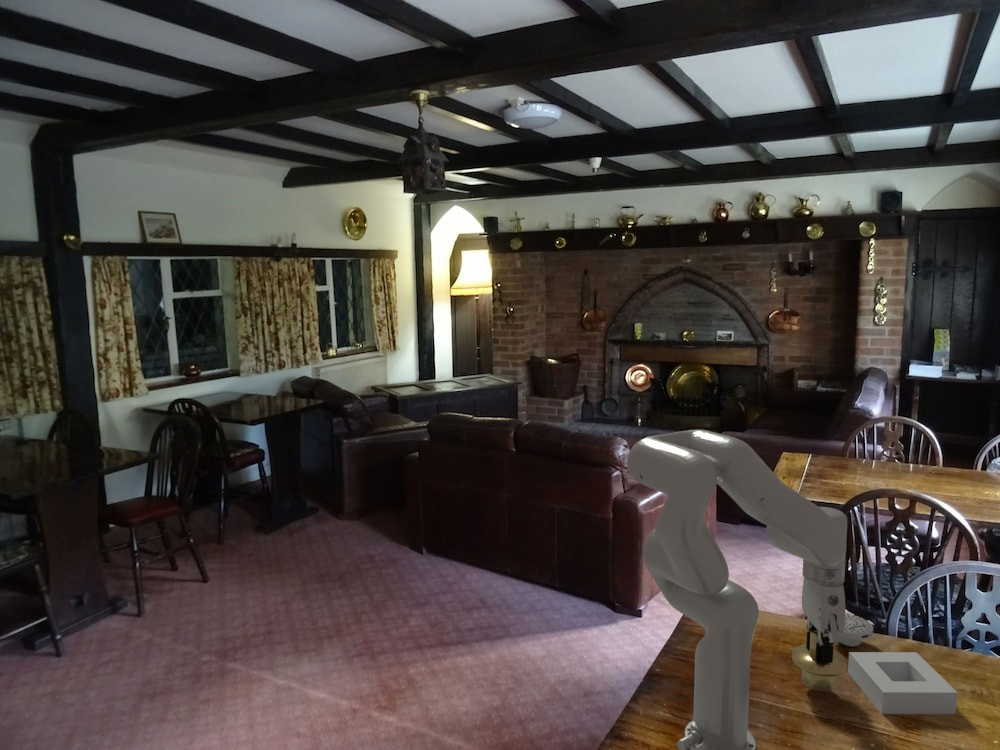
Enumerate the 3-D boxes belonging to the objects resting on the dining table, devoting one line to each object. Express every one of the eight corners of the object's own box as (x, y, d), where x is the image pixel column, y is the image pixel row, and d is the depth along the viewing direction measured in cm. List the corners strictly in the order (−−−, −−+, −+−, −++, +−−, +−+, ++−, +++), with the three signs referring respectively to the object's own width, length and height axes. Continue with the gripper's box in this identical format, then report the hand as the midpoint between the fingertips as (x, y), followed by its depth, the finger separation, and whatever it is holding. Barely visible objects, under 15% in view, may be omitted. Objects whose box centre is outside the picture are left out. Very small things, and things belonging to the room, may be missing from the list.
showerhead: (849, 605, 164) (883, 626, 154) (848, 634, 165) (881, 656, 155) (816, 611, 161) (848, 632, 152) (814, 640, 162) (846, 663, 153)
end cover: (802, 697, 136) (804, 648, 134) (783, 668, 146) (785, 622, 144) (854, 697, 135) (857, 647, 134) (832, 668, 145) (834, 621, 144)
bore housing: (881, 720, 134) (883, 692, 133) (847, 678, 147) (849, 652, 146) (955, 721, 133) (957, 692, 132) (914, 678, 147) (916, 652, 146)
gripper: (863, 589, 128) (857, 680, 131) (824, 552, 145) (820, 634, 148) (822, 590, 129) (817, 680, 132) (788, 553, 145) (784, 634, 148)
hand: (819, 655), depth 140 cm, fingers closed on end cover, 3 cm apart
